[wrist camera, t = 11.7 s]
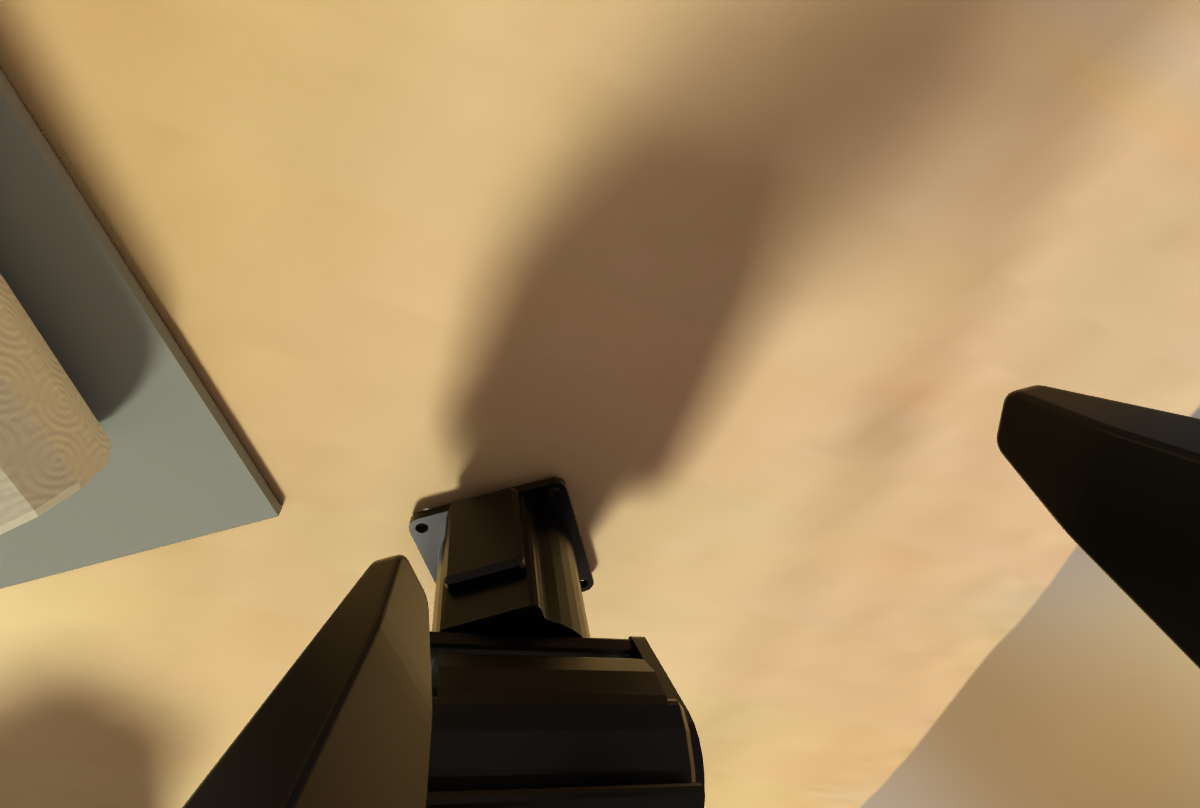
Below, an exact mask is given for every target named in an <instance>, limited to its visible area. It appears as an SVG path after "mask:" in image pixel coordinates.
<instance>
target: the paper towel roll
mask: <svg viewBox="0 0 1200 808" xmlns="http://www.w3.org/2000/svg"><path fill="white" fill-rule="evenodd" d="M111 449H112V445H111V440H110V439H109V437H108V436H107V434H106V433H105V431H104V430H103V428H102V427H101V425H100V424H99V422H98V421H97V419H96V418H95V416H94V415H93V413H92V412H91V410H90V409H89V407H88V406H87V404H86V402H85V401H84V399H83V398H82V396H81V395H80V393H79V392H78V390H77V389H76V387H75V386H74V384H73V383H72V381H71V380H70V378H69V377H68V375H67V374H66V372H65V371H64V369H63V368H62V366H61V365H60V363H59V361H58V360H57V358H56V357H55V355H54V354H53V352H52V351H51V349H50V348H49V346H48V345H47V343H46V342H45V340H44V339H43V337H42V336H41V334H40V333H39V331H38V330H37V328H36V327H35V325H34V324H33V322H32V321H31V319H30V317H29V316H28V314H27V313H26V311H25V310H24V308H23V307H22V305H21V304H20V302H19V301H18V299H17V298H16V296H15V295H14V293H13V292H12V290H11V289H10V287H9V286H8V284H7V283H6V281H5V280H4V278H3V276H2V275H1V273H0V535H1V534H3V533H5V532H7V531H9V530H11V529H13V528H16V527H18V526H20V525H22V524H24V523H26V522H28V521H30V520H32V519H34V518H36V517H38V516H40V515H41V514H43V513H45V512H46V511H48V510H49V509H51V508H52V507H54V506H55V505H57V504H58V503H60V502H62V501H63V500H65V499H66V498H68V497H69V496H71V495H72V494H74V493H76V492H77V491H79V490H80V489H82V488H83V487H84V486H85V485H86V484H87V483H88V482H89V481H90V480H91V479H92V478H93V477H94V476H95V475H96V474H97V473H98V472H99V471H100V470H101V469H102V468H104V467H105V466H106V464H107V461H108V458H109V455H110V452H111Z"/></svg>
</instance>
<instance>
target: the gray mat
mask: <svg viewBox="0 0 1200 808" xmlns="http://www.w3.org/2000/svg"><path fill="white" fill-rule="evenodd" d="M0 273H1V275H2V276H3V278H4V280H5V281H6V283H7V284H8V286H9V287H10V289H11V290H12V292H13V293H14V295H15V296H16V298H17V299H18V301H19V302H20V304H21V305H22V307H23V308H24V310H25V311H26V313H27V314H28V316H29V317H30V319H31V321H32V322H33V324H34V325H35V327H36V328H37V330H38V331H39V333H40V334H41V336H42V337H43V339H44V340H45V342H46V343H47V345H48V346H49V348H50V349H51V351H52V352H53V354H54V355H55V357H56V358H57V360H58V361H59V363H60V365H61V366H62V368H63V369H64V371H65V372H66V374H67V375H68V377H69V378H70V380H71V381H72V383H73V384H74V386H75V387H76V389H77V390H78V392H79V393H80V395H81V396H82V398H83V399H84V401H85V402H86V404H87V406H88V407H89V409H90V410H91V412H92V413H93V415H94V416H95V418H96V419H97V421H98V422H99V424H100V425H101V427H102V428H103V430H104V431H105V433H106V434H107V436H108V437H109V439H110V440H111V445H112V449H111V452H110V455H109V458H108V461H107V464H106V466H105V467H104V468H102V469H101V470H100V471H99V472H98V473H97V474H96V475H95V476H94V477H93V478H92V479H91V480H90V481H89V482H88V483H87V484H86V485H85V486H84V487H83V488H82V489H80V490H79V491H77V492H76V493H74V494H72V495H71V496H69V497H68V498H66V499H65V500H63V501H62V502H60V503H58V504H57V505H55V506H54V507H52V508H51V509H49V510H48V511H46V512H45V513H43V514H41V515H40V516H38V517H36V518H34V519H32V520H30V521H28V522H26V523H24V524H22V525H20V526H18V527H16V528H13V529H11V530H9V531H7V532H5V533H3V534H1V535H0V589H1V588H5V587H8V586H12V585H16V584H20V583H24V582H28V581H31V580H35V579H39V578H43V577H47V576H51V575H54V574H58V573H62V572H66V571H70V570H74V569H78V568H81V567H85V566H89V565H93V564H97V563H101V562H104V561H108V560H112V559H116V558H120V557H124V556H127V555H131V554H135V553H139V552H143V551H147V550H150V549H154V548H158V547H162V546H166V545H170V544H173V543H177V542H181V541H185V540H189V539H193V538H196V537H200V536H204V535H208V534H212V533H216V532H220V531H223V530H227V529H231V528H235V527H239V526H243V525H246V524H250V523H254V522H258V521H262V520H266V519H269V518H273V517H277V516H279V513H280V511H281V509H282V507H281V505H280V504H279V502H278V500H277V499H276V497H275V496H274V494H273V493H272V491H271V490H270V488H269V486H268V485H267V483H266V482H265V480H264V479H263V477H262V476H261V474H260V472H259V471H258V469H257V468H256V466H255V465H254V463H253V462H252V460H251V458H250V457H249V455H248V454H247V452H246V451H245V449H244V447H243V446H242V444H241V443H240V441H239V440H238V438H237V437H236V435H235V433H234V432H233V430H232V429H231V427H230V426H229V424H228V423H227V421H226V419H225V418H224V416H223V415H222V413H221V412H220V410H219V408H218V407H217V405H216V404H215V402H214V401H213V399H212V398H211V396H210V394H209V393H208V391H207V390H206V388H205V387H204V385H203V384H202V382H201V380H200V379H199V377H198V376H197V374H196V373H195V371H194V370H193V368H192V366H191V365H190V363H189V362H188V360H187V359H186V357H185V355H184V354H183V352H182V351H181V349H180V348H179V346H178V345H177V343H176V341H175V340H174V338H173V337H172V335H171V334H170V332H169V331H168V329H167V327H166V326H165V324H164V323H163V321H162V320H161V318H160V317H159V315H158V313H157V312H156V310H155V309H154V307H153V306H152V304H151V302H150V301H149V299H148V298H147V296H146V295H145V293H144V292H143V290H142V288H141V287H140V285H139V284H138V282H137V281H136V279H135V278H134V276H133V274H132V273H131V271H130V270H129V268H128V267H127V265H126V264H125V262H124V260H123V259H122V257H121V256H120V254H119V253H118V251H117V249H116V248H115V246H114V245H113V243H112V242H111V240H110V239H109V237H108V235H107V234H106V232H105V231H104V229H103V228H102V226H101V225H100V223H99V221H98V220H97V218H96V217H95V215H94V214H93V212H92V210H91V209H90V207H89V206H88V204H87V203H86V201H85V200H84V198H83V196H82V195H81V193H80V192H79V190H78V189H77V187H76V186H75V184H74V182H73V181H72V179H71V178H70V176H69V175H68V173H67V172H66V170H65V168H64V167H63V165H62V164H61V162H60V161H59V159H58V157H57V156H56V154H55V153H54V151H53V150H52V148H51V147H50V145H49V143H48V142H47V140H46V139H45V137H44V136H43V134H42V133H41V131H40V129H39V128H38V126H37V125H36V123H35V122H34V120H33V119H32V117H31V115H30V114H29V112H28V111H27V109H26V108H25V106H24V104H23V103H22V101H21V100H20V98H19V97H18V95H17V94H16V92H15V90H14V89H13V87H12V86H11V84H10V83H9V81H8V80H7V78H6V76H5V75H4V73H3V72H2V70H1V69H0Z"/></svg>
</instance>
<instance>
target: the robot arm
mask: <svg viewBox="0 0 1200 808" xmlns="http://www.w3.org/2000/svg"><path fill="white" fill-rule="evenodd" d="M997 443H998V447H999V449H1000V451H1001V453H1002V454H1003V455H1004V457H1005V458H1006V459H1007V460H1008V462H1009V463H1010V464H1011V465H1012V466H1013V468H1014V469H1015V470H1016V471H1017V473H1018V474H1019V475H1020V476H1021V478H1022V479H1023V480H1024V481H1025V482H1026V484H1027V485H1028V486H1029V487H1030V489H1031V490H1032V491H1033V492H1034V494H1035V495H1036V496H1037V497H1038V498H1039V500H1040V501H1041V502H1042V503H1043V505H1044V506H1045V507H1046V508H1047V510H1048V511H1049V512H1050V513H1051V514H1052V516H1053V517H1054V518H1055V519H1056V521H1057V522H1058V523H1059V524H1060V525H1061V527H1062V528H1063V529H1064V530H1065V531H1066V532H1067V534H1068V535H1069V536H1070V537H1071V538H1072V539H1073V540H1074V541H1075V542H1076V543H1077V544H1078V545H1079V546H1080V547H1081V549H1082V550H1084V552H1085V553H1086V554H1087V555H1088V556H1089V557H1090V558H1091V559H1092V560H1093V561H1094V562H1095V563H1096V564H1097V565H1098V566H1099V567H1100V568H1101V569H1102V570H1103V571H1104V572H1105V573H1106V574H1107V575H1108V576H1109V577H1110V578H1111V579H1112V580H1113V581H1114V582H1115V583H1116V584H1117V585H1118V586H1119V587H1120V588H1121V589H1122V590H1123V591H1124V592H1125V593H1126V594H1127V595H1128V596H1129V597H1130V598H1131V599H1132V600H1133V601H1134V602H1135V603H1136V604H1137V605H1138V607H1140V609H1141V610H1143V612H1144V613H1145V614H1146V615H1147V616H1148V617H1149V618H1150V619H1151V620H1152V621H1153V622H1154V623H1155V624H1156V625H1157V626H1158V627H1159V628H1160V629H1161V630H1162V631H1163V632H1164V633H1165V634H1166V635H1167V636H1168V637H1169V638H1170V639H1171V640H1172V641H1173V642H1174V643H1175V644H1176V645H1177V646H1178V647H1179V648H1180V649H1181V650H1182V651H1183V652H1184V653H1185V654H1186V655H1187V656H1188V657H1189V658H1190V659H1191V660H1192V661H1193V662H1194V663H1195V664H1196V665H1197V667H1199V668H1200V419H1198V418H1193V417H1188V416H1184V415H1179V414H1174V413H1169V412H1165V411H1160V410H1155V409H1150V408H1146V407H1141V406H1136V405H1132V404H1127V403H1122V402H1117V401H1113V400H1108V399H1103V398H1099V397H1094V396H1089V395H1084V394H1080V393H1075V392H1070V391H1066V390H1061V389H1056V388H1051V387H1047V386H1041V385H1036V386H1031V387H1027V388H1023V389H1019V390H1016V391H1013V392H1011V393H1009V394H1008V395H1007V397H1006V398H1005V400H1004V404H1003V409H1002V413H1001V418H1000V423H999V428H998V433H997ZM553 488H558V489H559V490H558V491H556V492H552V491H550V490H551V489H553ZM420 523H424V524H426V526H419V525H418V524H420ZM409 531H410V533H411V535H412V537H413V539H414V541H415V543H416V545H417V547H418V549H419V551H420V553H421V555H422V557H423V559H424V561H425V563H426V565H427V567H428V569H429V571H430V573H431V575H432V577H433V579H434V581H435V583H436V591H435V602H434V613H433V624H432V632H430V631H429V609H428V602H427V597H426V594H425V592H424V590H423V588H422V586H421V584H420V582H419V580H418V578H417V576H416V574H415V572H414V571H413V569H412V567H411V565H410V563H409V561H408V560H407V558H406V557H405V556H403V555H395V556H392V557H388V558H384V559H380V560H377V561H375V562H373V563H372V564H371V565H370V566H369V568H368V569H367V570H366V571H365V573H364V574H363V575H362V577H361V578H360V579H359V580H358V582H357V583H356V584H355V586H354V587H353V588H352V589H351V591H350V592H349V593H348V595H347V596H346V597H345V598H344V600H343V601H342V602H341V604H340V605H339V606H338V608H337V609H336V610H335V611H334V613H333V614H332V615H331V617H330V618H329V619H328V620H327V622H326V623H325V624H324V626H323V627H322V628H321V629H320V631H319V632H318V633H317V635H316V636H315V637H314V638H313V640H312V641H311V642H310V644H309V645H308V646H307V647H306V649H305V650H304V651H303V653H302V654H301V655H300V657H299V658H298V659H297V660H296V662H295V663H294V664H293V666H292V667H291V668H290V669H289V671H288V672H287V673H286V675H285V676H284V677H283V678H282V680H281V681H280V682H279V684H278V685H277V686H276V687H275V689H274V690H273V691H272V693H271V694H270V695H269V696H268V698H267V699H266V700H265V702H264V703H263V704H262V705H261V707H260V708H259V709H258V711H257V712H256V713H255V715H254V716H253V717H252V718H251V720H250V721H249V722H248V724H247V725H246V726H245V727H244V729H243V730H242V731H241V733H240V734H239V735H238V736H237V738H236V739H235V740H234V742H233V743H232V744H231V745H230V747H229V748H228V749H227V751H226V752H225V753H224V754H223V756H222V757H221V758H220V760H219V761H218V762H217V764H216V765H215V766H214V767H213V769H212V770H211V771H210V773H209V774H208V775H207V776H206V778H205V779H204V780H203V782H202V783H201V784H200V785H199V787H198V788H197V789H196V791H195V792H194V793H193V794H192V796H191V797H190V798H189V800H188V801H187V802H186V803H185V805H184V806H183V807H182V808H704V802H705V791H704V767H703V757H702V751H701V747H700V742H699V737H698V734H697V731H696V728H695V725H694V722H693V720H692V718H691V716H690V714H689V711H688V710H687V708H686V706H685V705H684V703H683V701H682V700H681V698H680V696H679V694H678V693H677V691H676V689H675V688H674V686H673V684H672V683H671V681H670V679H669V678H668V676H667V674H666V672H665V671H664V669H663V667H662V666H661V664H660V662H659V661H658V659H657V657H656V655H655V654H654V652H653V650H652V649H651V647H650V645H649V644H648V642H647V640H646V638H645V637H629V638H628V639H610V638H590V635H589V629H588V624H587V618H586V613H585V608H584V602H583V597H582V592H584V591H586V590H589V589H590V588H591V587H592V586H593V577H592V573H591V569H590V566H589V562H588V559H587V555H586V552H585V548H584V545H583V541H582V538H581V534H580V531H579V528H578V524H577V521H576V517H575V514H574V510H573V507H572V503H571V500H570V496H569V493H568V489H567V486H566V483H565V481H564V480H563V479H561V478H558V477H552V478H548V479H544V480H540V481H536V482H532V483H529V484H525V485H521V486H517V487H513V488H509V489H505V490H501V491H497V492H493V493H490V494H486V495H482V496H478V497H474V498H471V499H467V500H463V501H459V502H455V503H453V504H449V505H445V506H441V507H437V508H434V509H430V510H426V511H422V512H418V513H416V514H414V515H413V516H412V517H411V519H410V524H409ZM580 580H584V581H580Z"/></svg>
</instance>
